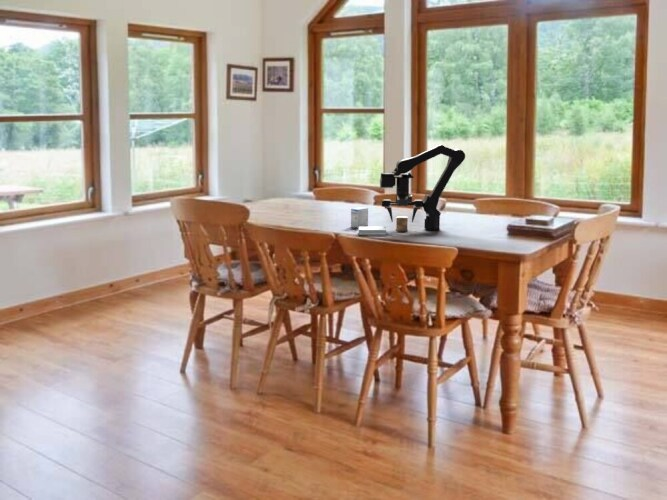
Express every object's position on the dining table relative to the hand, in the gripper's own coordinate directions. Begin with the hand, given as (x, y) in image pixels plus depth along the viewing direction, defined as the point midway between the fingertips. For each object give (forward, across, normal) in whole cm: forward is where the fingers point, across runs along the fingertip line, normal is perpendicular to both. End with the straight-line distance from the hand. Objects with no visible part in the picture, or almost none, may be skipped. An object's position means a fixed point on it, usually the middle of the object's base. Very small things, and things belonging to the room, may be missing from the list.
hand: (402, 221), depth 351 cm
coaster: (+4, -12, -1) cm, 13 cm away
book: (+4, -13, -13) cm, 19 cm away
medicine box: (+4, -20, +8) cm, 22 cm away
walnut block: (+4, 0, 0) cm, 4 cm away
